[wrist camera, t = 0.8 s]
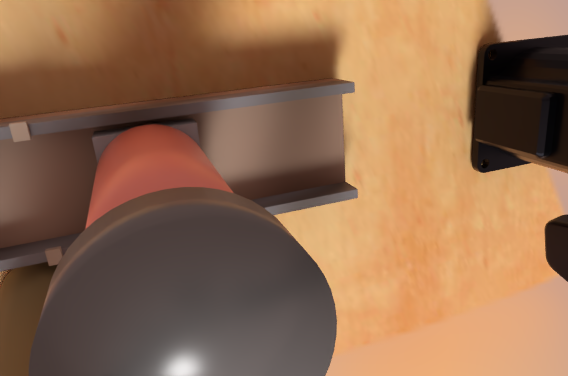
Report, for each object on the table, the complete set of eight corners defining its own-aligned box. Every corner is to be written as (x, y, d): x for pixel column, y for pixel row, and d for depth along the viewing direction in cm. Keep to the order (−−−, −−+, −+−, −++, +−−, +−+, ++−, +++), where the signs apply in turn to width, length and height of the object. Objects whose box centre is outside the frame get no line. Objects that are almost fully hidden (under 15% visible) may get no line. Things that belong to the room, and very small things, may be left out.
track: (331, 75, 20) (356, 80, 18) (336, 185, 22) (359, 201, 20) (-88, 126, 16) (-120, 140, 14) (-41, 259, 18) (-64, 289, 16)
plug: (205, 100, 18) (330, 189, 7) (221, 214, 19) (342, 425, 9) (72, 117, 16) (-16, 257, 6) (100, 239, 18) (71, 521, 7)
